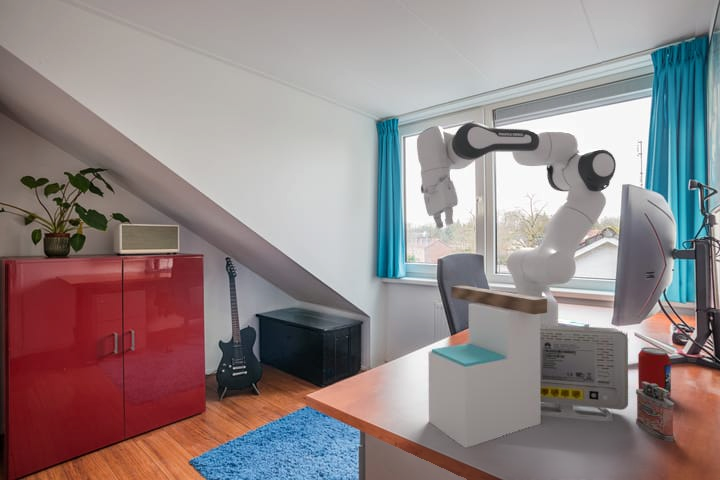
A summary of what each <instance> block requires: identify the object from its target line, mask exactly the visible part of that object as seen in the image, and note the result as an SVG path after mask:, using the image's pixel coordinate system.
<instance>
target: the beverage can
mask: <svg viewBox="0 0 720 480" xmlns="http://www.w3.org/2000/svg"><path fill="white" fill-rule="evenodd" d="M637 357H638V360H637V361H638V362H637V365H638V366H637V368H638V369H637V370H638V371H637V373H638V375H637V376H638V377H637V379H638V381H637V383H638V389H642V382H648V383H650V384H657V385H658V386H659V387H661V388H663V389H665V390H667V391H669V392H670V397H671V396H672V393H671V392H672V388H671V387H672V386H671V385H672V377H671V376H672V373H671V370H672V366H671V365H672V361H671V360H672V359H671V356H669V354H668V352H667V351H666V350H664V349H661V348H657V347H647V346H645V347H642V348H641V349H640V351H639V353H638V355H637ZM664 398H666V397H664ZM666 399H667V398H666Z"/></svg>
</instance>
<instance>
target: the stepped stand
mask: <svg viewBox="0 0 720 480" xmlns="http://www.w3.org/2000/svg"><path fill="white" fill-rule="evenodd" d="M541 404H542V403H541V401H540V314H529V313H525V312H520V311H515V310H510V309H505V308H500V307H496V306H491V305H486V304H481V303H476V302H471V303H468V343H462V344H457V345H449V346H444V347H437V348H432V349H431V351H428V422H429V423H430V424H431V425H433V426H434V427H435V428H437V429H438V430H439V431H441V432H443V433H444V434H445V435H446V436H448V437H449V438H451V439H452V440H453V441H454V442H456V443H458V444H459V445H460V446H462V447H463V448H464V449H467V448H471V447H474V446H476V445H479V444H482V443H485V442H489V441H491V440H495V439H498V438H500V437H504V436H507V435H510V434H513V433H516V432H519V431H518V430H520V431H523V430H525V428H526V429H528V427H529V428H531V427H535V426H538V425H541V423H542V422H541V420H542V419H541V418H542V417H541V416H542V415H541V411H542V410H541V407H542V405H541ZM522 429H523V430H522ZM515 431H516V432H515ZM512 432H513V433H512ZM509 433H510V434H509ZM506 434H507V435H506ZM503 435H504V436H503Z"/></svg>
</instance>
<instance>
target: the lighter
mask: <svg viewBox="0 0 720 480" xmlns="http://www.w3.org/2000/svg"><path fill="white" fill-rule="evenodd" d="M635 395H636V409H637V410H636V412H637V413H636V415H637V416H636V417H637V418H635V419H636V420H635V423H636V425H638V426H639V427H640V428H641V429H642V430H644V431H646V432H648V433H650V434H651V435H653V436H655V437H658V438H659V439H660V440H661V439H662V440H663V439H664V441H667V440H668V442H673V440H674V441H675V434H674V408H675V403H674V402H673V401H671V400H670V397H671V396H670V392H669V391H667V390H665V389H663V388H661V387H659V386H658V385H657V384H650V383H648V382H642V389H639V388H637V389H635ZM664 397H666V398H664ZM668 398H669V399H668Z"/></svg>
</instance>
